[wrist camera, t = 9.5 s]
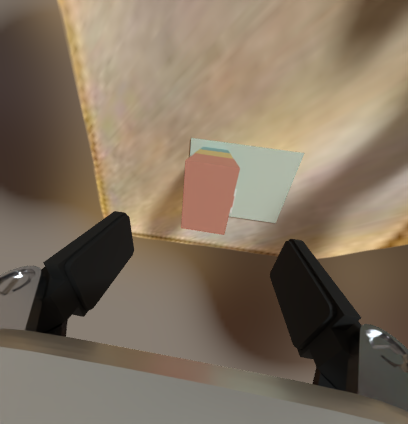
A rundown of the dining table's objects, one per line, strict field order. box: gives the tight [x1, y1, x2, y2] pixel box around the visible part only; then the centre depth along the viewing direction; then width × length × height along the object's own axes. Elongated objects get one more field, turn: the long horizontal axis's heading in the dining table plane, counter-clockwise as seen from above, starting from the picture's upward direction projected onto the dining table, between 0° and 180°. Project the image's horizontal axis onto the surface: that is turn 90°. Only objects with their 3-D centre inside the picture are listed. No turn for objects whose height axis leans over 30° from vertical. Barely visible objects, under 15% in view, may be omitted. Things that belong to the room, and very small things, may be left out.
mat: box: [190, 138, 304, 223], centre depth 32 cm, size 16×22×1 cm
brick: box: [181, 153, 240, 235], centre depth 18 cm, size 8×5×6 cm, turn 173°
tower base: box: [195, 147, 233, 159], centre depth 26 cm, size 8×5×12 cm, turn 173°
